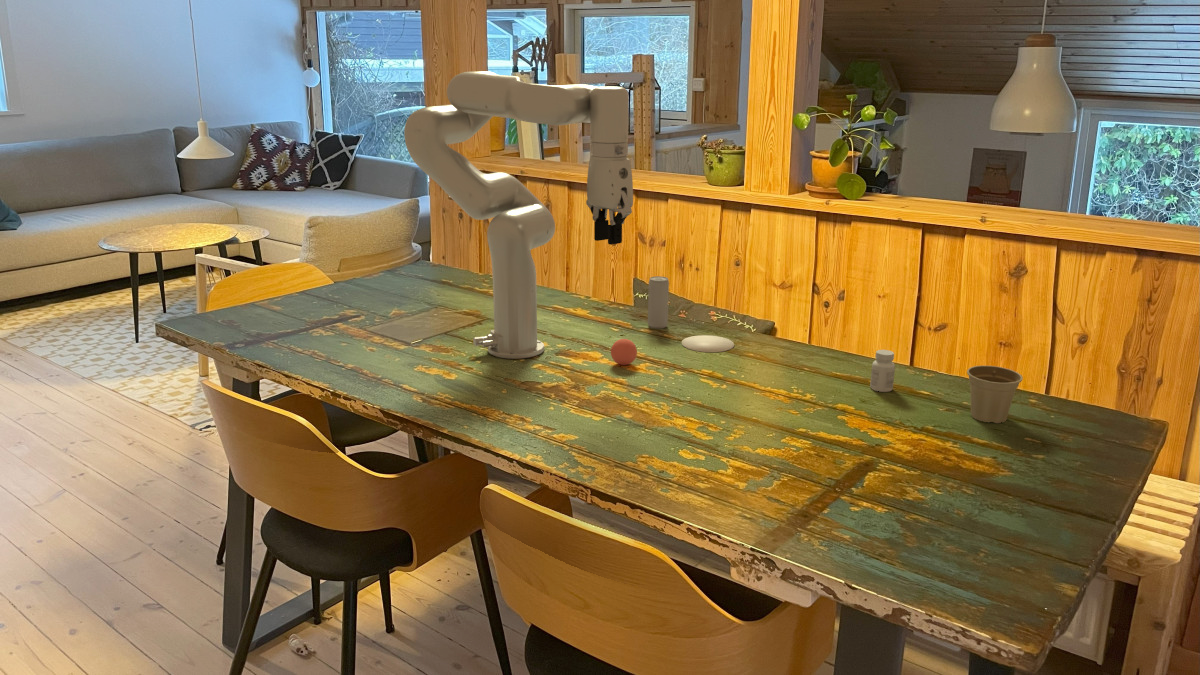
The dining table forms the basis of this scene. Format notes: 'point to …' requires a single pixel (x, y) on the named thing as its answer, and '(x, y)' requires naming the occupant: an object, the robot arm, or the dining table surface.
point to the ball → (623, 351)
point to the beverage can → (658, 302)
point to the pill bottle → (883, 371)
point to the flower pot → (992, 392)
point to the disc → (707, 343)
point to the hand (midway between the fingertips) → (608, 240)
